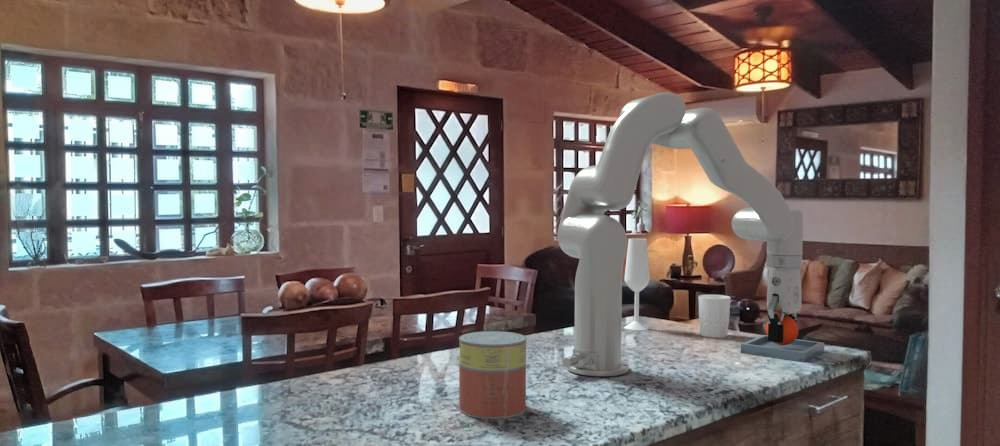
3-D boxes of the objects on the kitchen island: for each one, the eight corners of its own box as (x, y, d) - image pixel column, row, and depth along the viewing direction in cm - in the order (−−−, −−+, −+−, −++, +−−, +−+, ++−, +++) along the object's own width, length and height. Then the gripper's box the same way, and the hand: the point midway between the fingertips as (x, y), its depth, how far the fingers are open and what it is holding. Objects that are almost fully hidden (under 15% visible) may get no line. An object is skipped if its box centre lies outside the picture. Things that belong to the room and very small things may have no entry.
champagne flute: (625, 324, 196) (626, 237, 196) (650, 326, 194) (651, 238, 193) (622, 329, 190) (623, 239, 189) (647, 330, 188) (648, 239, 187)
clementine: (769, 339, 168) (770, 309, 168) (801, 343, 165) (802, 312, 165) (762, 345, 162) (763, 314, 161) (795, 349, 158) (796, 317, 158)
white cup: (726, 332, 186) (726, 294, 185) (733, 339, 178) (733, 299, 178) (695, 332, 187) (695, 294, 186) (700, 338, 179) (701, 298, 178)
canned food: (485, 395, 127) (485, 328, 127) (538, 406, 121) (539, 336, 120) (444, 410, 118) (445, 338, 118) (500, 423, 112) (501, 347, 111)
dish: (804, 362, 153) (804, 353, 153) (740, 352, 163) (740, 343, 162) (824, 351, 164) (824, 342, 164) (763, 343, 173) (763, 334, 173)
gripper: (788, 266, 153) (786, 347, 154) (813, 261, 167) (811, 335, 167) (753, 264, 158) (751, 342, 159) (780, 259, 172) (778, 331, 172)
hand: (782, 338), depth 163 cm, fingers closed on clementine, 8 cm apart
